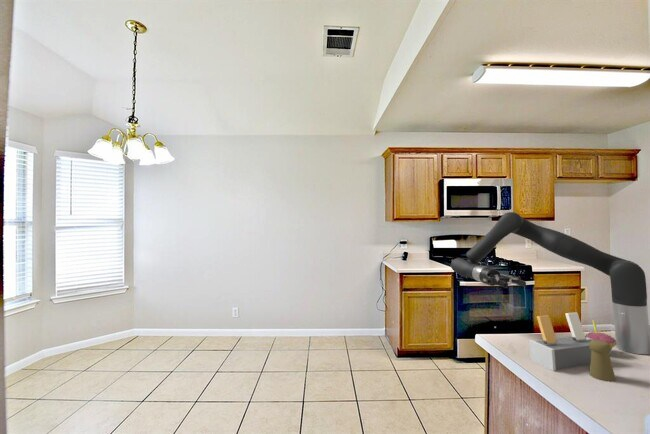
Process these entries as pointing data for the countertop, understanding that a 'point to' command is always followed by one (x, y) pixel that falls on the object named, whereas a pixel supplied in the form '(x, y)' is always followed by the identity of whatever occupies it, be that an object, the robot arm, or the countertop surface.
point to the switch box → (561, 353)
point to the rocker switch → (575, 326)
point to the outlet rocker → (546, 329)
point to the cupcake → (602, 337)
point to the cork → (601, 361)
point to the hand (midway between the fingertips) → (516, 284)
